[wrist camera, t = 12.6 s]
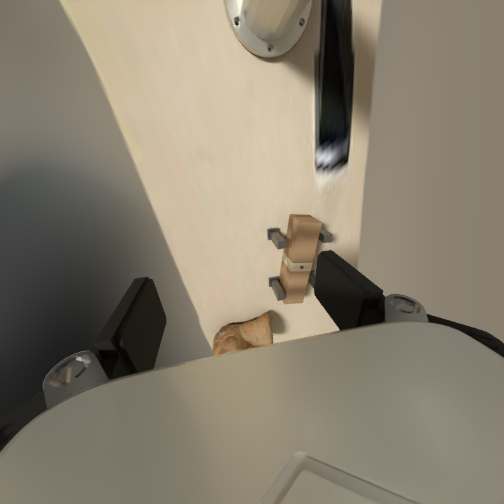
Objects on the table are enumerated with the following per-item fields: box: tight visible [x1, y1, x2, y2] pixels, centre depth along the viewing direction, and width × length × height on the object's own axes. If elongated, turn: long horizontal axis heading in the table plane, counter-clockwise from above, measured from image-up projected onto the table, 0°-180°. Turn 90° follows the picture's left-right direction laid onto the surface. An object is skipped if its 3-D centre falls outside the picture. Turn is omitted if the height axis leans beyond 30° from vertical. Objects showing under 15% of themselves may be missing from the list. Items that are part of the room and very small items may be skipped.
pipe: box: [213, 312, 273, 356], centre depth 50 cm, size 9×16×10 cm, turn 105°
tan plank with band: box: [279, 214, 322, 304], centre depth 44 cm, size 20×5×6 cm, turn 175°
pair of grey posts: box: [269, 271, 316, 301], centre depth 47 cm, size 2×12×6 cm, turn 94°
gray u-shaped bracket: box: [267, 228, 332, 249], centre depth 41 cm, size 2×12×6 cm, turn 94°
